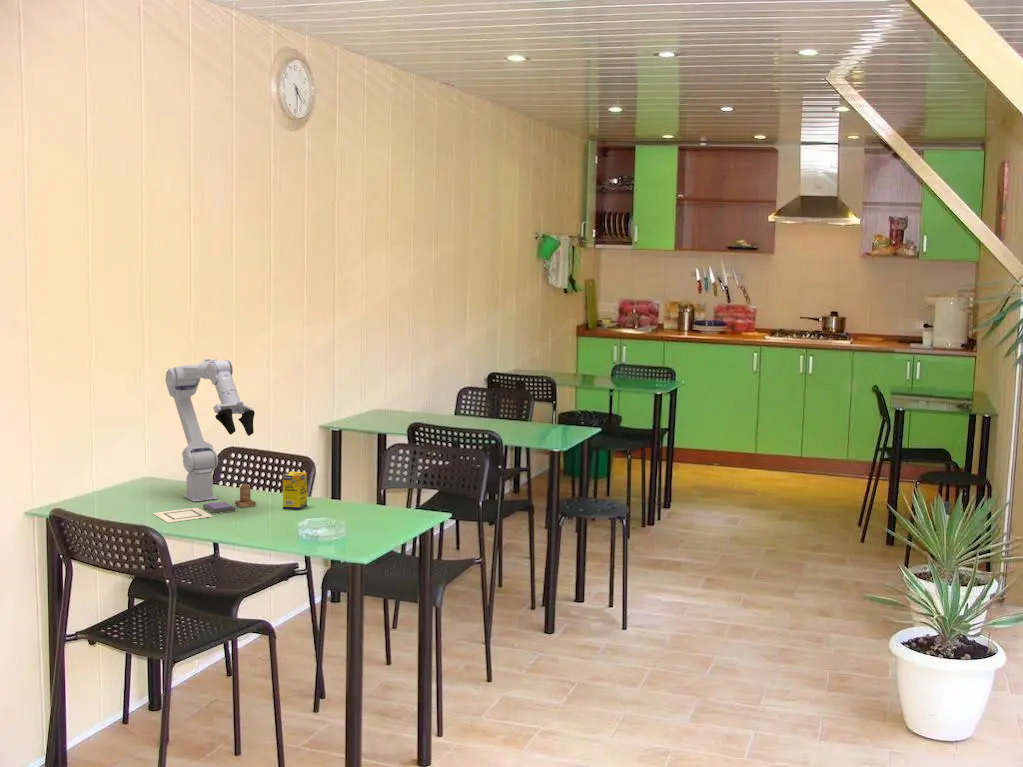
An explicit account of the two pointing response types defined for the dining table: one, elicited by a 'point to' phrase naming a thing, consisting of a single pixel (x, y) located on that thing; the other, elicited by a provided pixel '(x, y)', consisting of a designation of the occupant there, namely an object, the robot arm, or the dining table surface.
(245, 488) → the stamp
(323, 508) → the dining table surface
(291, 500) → the supplement box
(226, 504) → the ink pad
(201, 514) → the paper sheet
